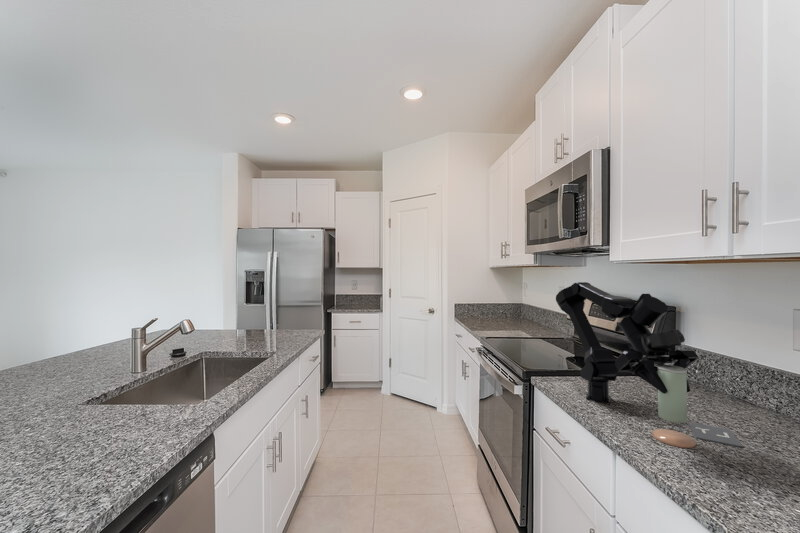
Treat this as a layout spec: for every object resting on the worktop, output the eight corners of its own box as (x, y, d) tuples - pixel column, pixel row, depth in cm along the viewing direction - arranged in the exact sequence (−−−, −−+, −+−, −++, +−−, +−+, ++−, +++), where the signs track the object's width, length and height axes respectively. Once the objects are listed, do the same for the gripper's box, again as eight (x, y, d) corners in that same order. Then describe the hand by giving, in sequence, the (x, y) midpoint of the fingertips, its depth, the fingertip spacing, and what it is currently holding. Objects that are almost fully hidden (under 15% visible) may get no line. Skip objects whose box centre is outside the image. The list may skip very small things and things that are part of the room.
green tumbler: (660, 411, 85) (659, 363, 85) (688, 418, 81) (688, 367, 81) (656, 417, 81) (655, 367, 81) (685, 425, 77) (685, 372, 77)
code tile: (688, 422, 89) (688, 421, 89) (729, 430, 85) (729, 428, 85) (695, 438, 81) (695, 436, 81) (741, 447, 77) (741, 445, 77)
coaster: (651, 428, 86) (651, 426, 86) (692, 436, 82) (692, 434, 82) (654, 441, 79) (654, 439, 79) (698, 451, 75) (698, 448, 75)
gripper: (622, 318, 84) (660, 377, 73) (691, 317, 86) (739, 374, 75) (601, 343, 92) (633, 399, 81) (664, 342, 94) (704, 396, 82)
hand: (677, 392), depth 79 cm, fingers closed on green tumbler, 5 cm apart
